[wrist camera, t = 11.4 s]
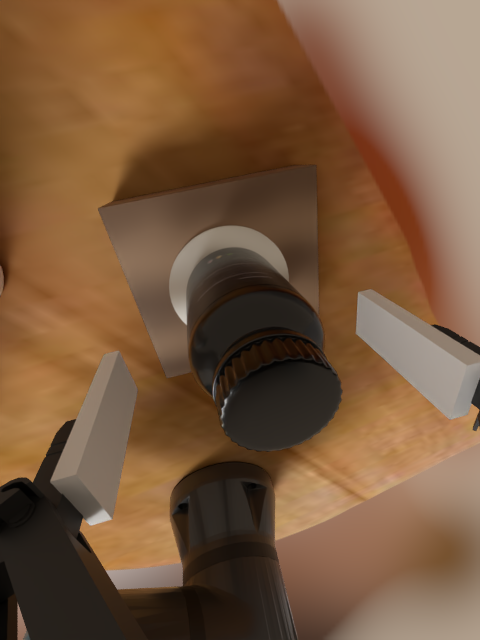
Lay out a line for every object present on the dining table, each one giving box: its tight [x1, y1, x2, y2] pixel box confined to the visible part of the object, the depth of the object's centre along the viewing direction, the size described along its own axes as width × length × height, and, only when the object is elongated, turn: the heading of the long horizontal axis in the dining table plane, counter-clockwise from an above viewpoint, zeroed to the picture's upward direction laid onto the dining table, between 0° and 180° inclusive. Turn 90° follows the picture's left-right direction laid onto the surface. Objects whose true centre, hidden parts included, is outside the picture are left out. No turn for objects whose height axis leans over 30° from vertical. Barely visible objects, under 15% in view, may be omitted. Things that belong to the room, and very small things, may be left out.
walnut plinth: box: [98, 165, 319, 378], centre depth 22 cm, size 14×14×4 cm
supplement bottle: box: [186, 247, 342, 452], centre depth 15 cm, size 7×7×12 cm
